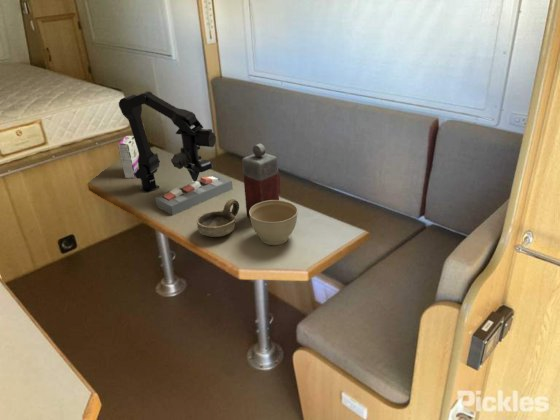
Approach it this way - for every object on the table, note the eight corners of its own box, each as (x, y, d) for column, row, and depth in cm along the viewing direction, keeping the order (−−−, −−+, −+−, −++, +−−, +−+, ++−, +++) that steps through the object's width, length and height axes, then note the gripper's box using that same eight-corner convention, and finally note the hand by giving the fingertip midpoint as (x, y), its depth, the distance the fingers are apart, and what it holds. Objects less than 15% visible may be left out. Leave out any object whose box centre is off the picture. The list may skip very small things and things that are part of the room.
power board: (156, 206, 187) (155, 197, 185) (216, 181, 206) (215, 173, 204) (172, 215, 180) (171, 205, 178) (232, 188, 199) (231, 180, 197)
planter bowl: (305, 245, 157) (304, 217, 152) (257, 255, 154) (255, 226, 148) (290, 223, 171) (289, 196, 166) (246, 231, 167) (244, 204, 162)
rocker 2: (183, 192, 192) (182, 188, 191) (195, 183, 195) (193, 179, 194) (189, 194, 190) (187, 191, 189) (201, 185, 193) (199, 182, 192)
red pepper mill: (284, 212, 179) (281, 141, 166) (263, 223, 172) (258, 151, 158) (267, 205, 184) (263, 136, 171) (246, 216, 177) (240, 145, 164)
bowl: (189, 234, 167) (185, 209, 162) (227, 216, 178) (225, 192, 173) (214, 248, 158) (210, 222, 154) (252, 228, 169) (250, 203, 164)
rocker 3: (200, 181, 197) (200, 177, 196) (212, 180, 202) (212, 176, 201) (205, 183, 195) (206, 179, 194) (217, 182, 199) (218, 178, 199)
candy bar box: (131, 168, 223) (124, 135, 215) (142, 168, 223) (135, 135, 215) (124, 178, 213) (117, 144, 205) (135, 178, 213) (128, 143, 205)
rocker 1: (165, 200, 187) (163, 196, 186) (177, 190, 190) (175, 187, 189) (170, 202, 184) (168, 199, 183) (182, 193, 187) (181, 189, 186)
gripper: (159, 145, 186) (165, 181, 193) (187, 156, 174) (192, 194, 182) (182, 137, 193) (187, 172, 200) (211, 147, 181) (215, 184, 188)
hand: (194, 181), depth 192 cm, fingers closed
